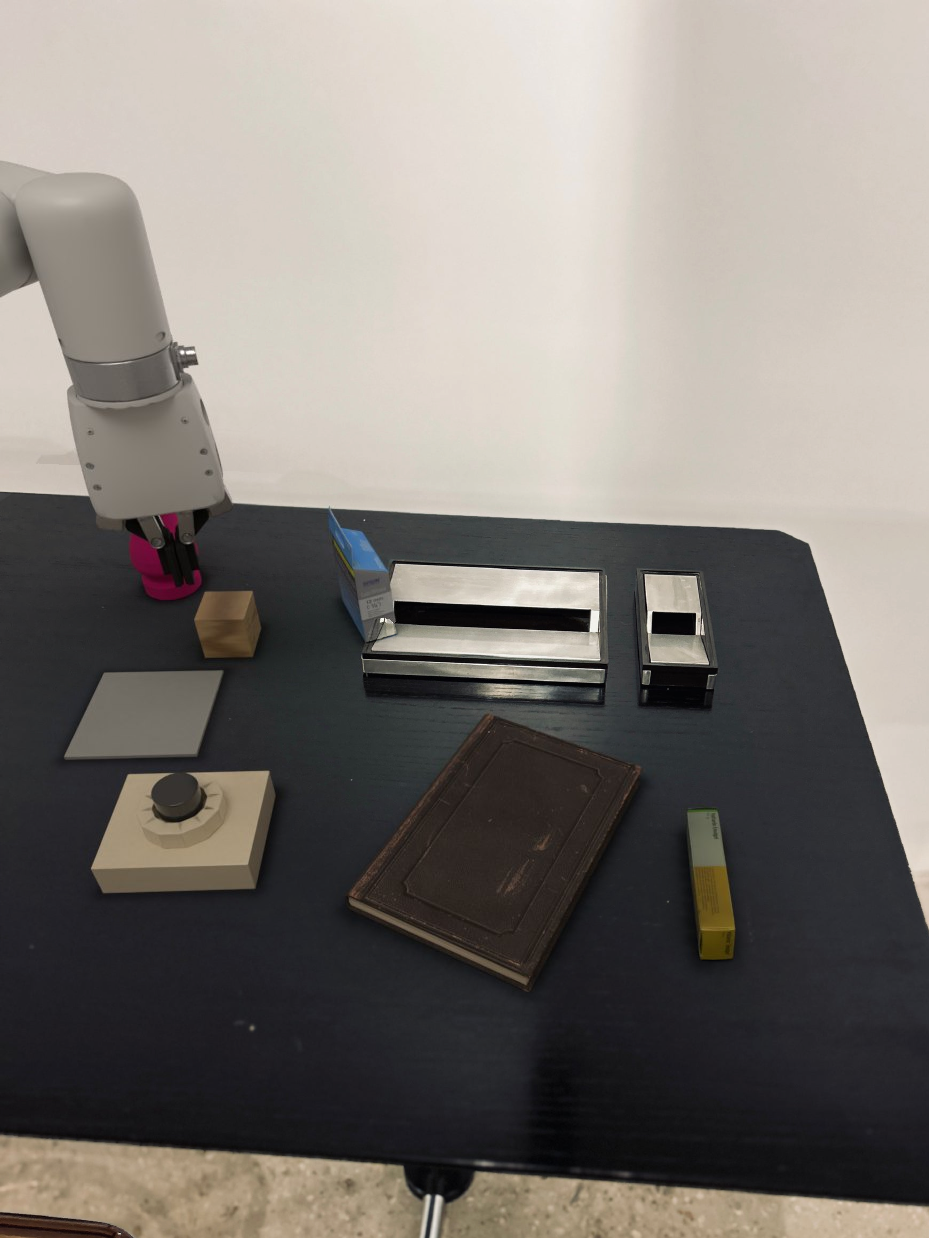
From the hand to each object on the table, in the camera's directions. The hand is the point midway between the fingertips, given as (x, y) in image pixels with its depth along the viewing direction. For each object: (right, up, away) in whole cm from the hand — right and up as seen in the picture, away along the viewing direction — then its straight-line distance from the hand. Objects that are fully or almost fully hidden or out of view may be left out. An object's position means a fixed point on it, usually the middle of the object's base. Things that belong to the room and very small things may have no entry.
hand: (184, 577), depth 76 cm
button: (+2, -19, -6) cm, 20 cm away
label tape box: (+12, -2, +21) cm, 24 cm away
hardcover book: (+28, -23, -2) cm, 36 cm away
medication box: (+44, -27, -6) cm, 52 cm away
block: (-1, -5, +17) cm, 18 cm away
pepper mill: (-11, +2, +25) cm, 27 cm away
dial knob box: (+2, -23, -3) cm, 23 cm away
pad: (-7, -12, +9) cm, 16 cm away
